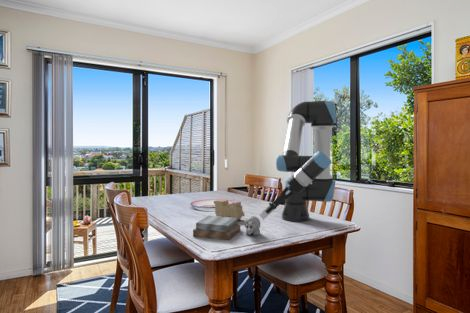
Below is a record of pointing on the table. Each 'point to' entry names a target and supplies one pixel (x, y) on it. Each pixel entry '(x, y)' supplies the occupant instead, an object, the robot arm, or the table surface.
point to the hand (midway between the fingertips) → (264, 214)
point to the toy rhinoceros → (252, 225)
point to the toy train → (228, 209)
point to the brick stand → (217, 227)
